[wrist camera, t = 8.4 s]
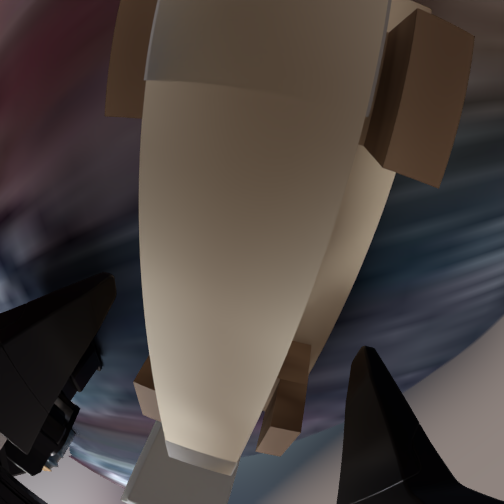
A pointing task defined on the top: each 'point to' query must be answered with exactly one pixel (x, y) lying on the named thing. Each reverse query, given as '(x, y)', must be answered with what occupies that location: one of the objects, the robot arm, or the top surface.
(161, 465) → the supplement box
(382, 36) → the rail
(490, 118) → the top surface
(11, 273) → the top surface
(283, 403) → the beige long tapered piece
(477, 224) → the top surface
